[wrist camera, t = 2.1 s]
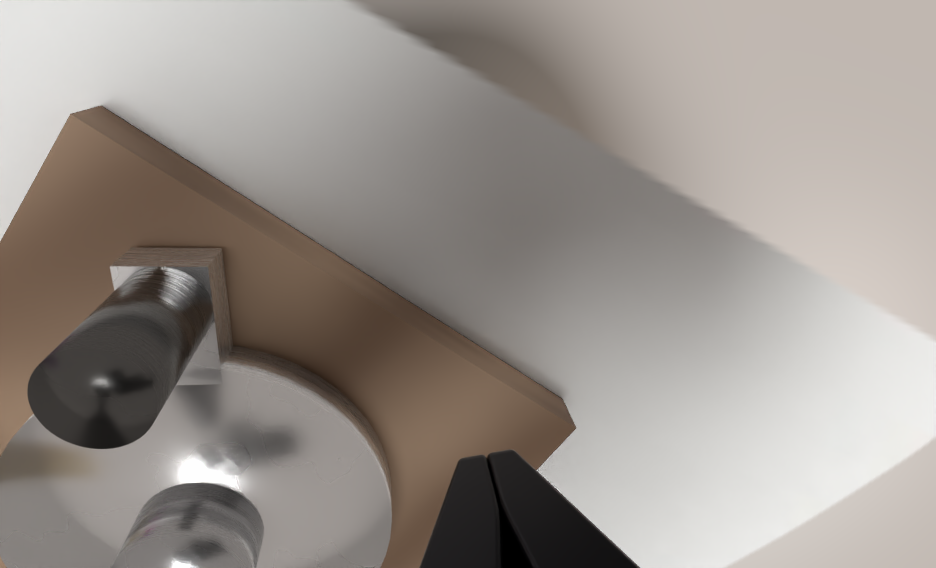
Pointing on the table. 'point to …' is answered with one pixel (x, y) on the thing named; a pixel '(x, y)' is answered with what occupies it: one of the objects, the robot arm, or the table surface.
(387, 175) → the table surface
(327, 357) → the base plate
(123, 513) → the flange
